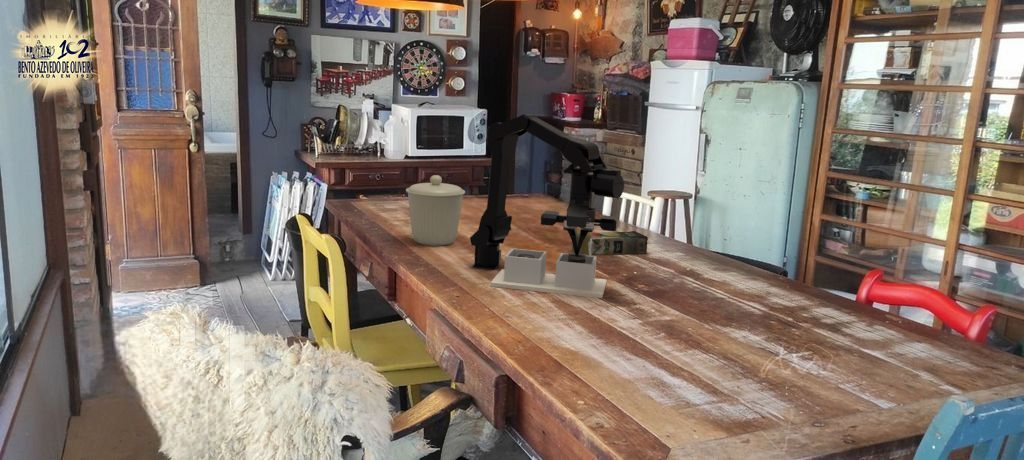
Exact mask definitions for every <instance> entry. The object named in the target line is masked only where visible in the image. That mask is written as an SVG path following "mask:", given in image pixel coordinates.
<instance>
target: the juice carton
mask: <svg viewBox="0 0 1024 460" xmlns="http://www.w3.org/2000/svg"><path fill="white" fill-rule="evenodd" d="M590 235H591V239H590V241H589V243H588V246H589V256H613V255H614V256H619V255H620V256H623V255H624V256H625V255H626V256H627V255H646V254H647V252H648V251H647V250H648V240H649V237H648V236H647V235H644V234H643V233H640V232H637V231H636V230H631V231H602V232H601V231H598V232H597V231H596V232H594V231H593V232H590Z"/></svg>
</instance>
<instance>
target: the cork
mask: <svg viewBox="0 0 1024 460" xmlns="http://www.w3.org/2000/svg"><path fill="white" fill-rule="evenodd" d="M580 230H581V229H577V236H578V242H579V237H580ZM590 239H591V235H590V232H588V234H587V235H586V237H585V239H584V242H583V244H582V247H581V249H580V253H584V254H586V255H587V256H590V255H589V246H588V243H589V241H590ZM571 252H574V248H573V247H572V249H571Z"/></svg>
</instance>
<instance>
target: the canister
mask: <svg viewBox="0 0 1024 460" xmlns="http://www.w3.org/2000/svg"><path fill="white" fill-rule="evenodd" d="M429 181H430V182H421V183H416V184H412V185H410V186H409V187H406V189H405V192H406V193H407V196H408V199H407V200H408V206H409V208H408V209H409V220H410V228H411V229H410V230H411V235H412V238H413V240H414V241H415V242H416V243H418V244H420V245H425V246H433V247H436V246H438V247H439V246H448V245H451V244H452V243H454V242H455V240H456V239H457V235H458V230H459V224H460V218H461V210H462V203H463V197H464V195H465V194H466V191H465V190H464V189H462V187H460V186H458V185H456V184H452V183H451V184H450V183H445V182H444V183H443V182H442V181H443V180H442V176H440V175H438V174H436V175H435V174H434V175H432V176H430V178H429Z"/></svg>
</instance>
